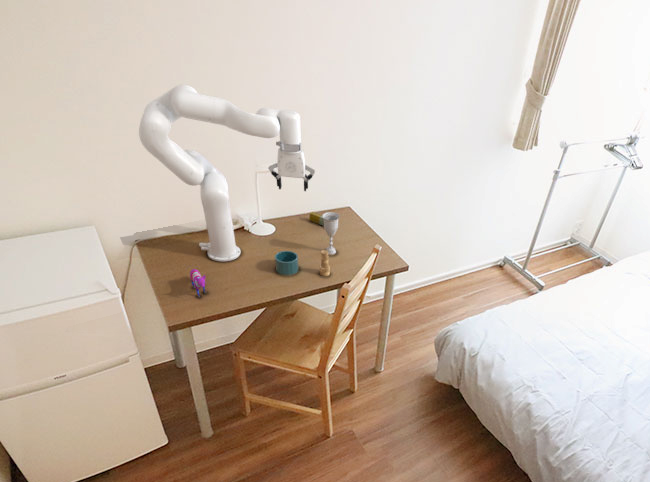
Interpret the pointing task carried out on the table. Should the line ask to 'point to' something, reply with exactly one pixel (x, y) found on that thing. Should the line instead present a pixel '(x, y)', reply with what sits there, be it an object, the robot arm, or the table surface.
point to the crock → (286, 262)
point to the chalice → (330, 228)
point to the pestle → (324, 264)
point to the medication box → (316, 218)
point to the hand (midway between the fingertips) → (292, 188)
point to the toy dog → (197, 280)
